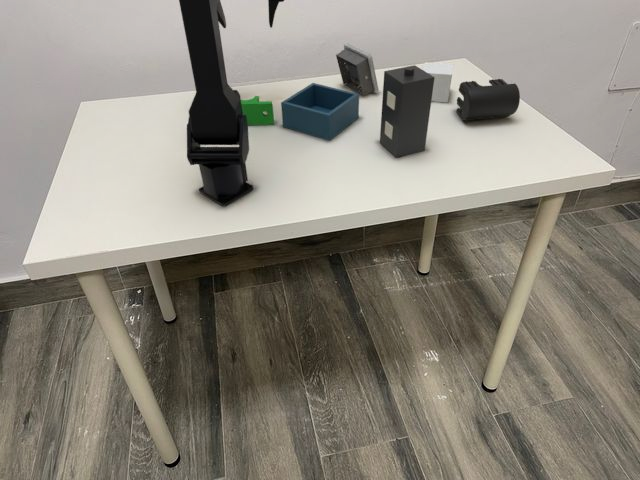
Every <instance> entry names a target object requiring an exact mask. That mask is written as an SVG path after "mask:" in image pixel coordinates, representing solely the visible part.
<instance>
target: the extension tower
mask: <svg viewBox="0 0 640 480" xmlns="http://www.w3.org/2000/svg"><path fill="white" fill-rule="evenodd" d="M434 78H435V77H433V76H432V75H430V74H428V73H427V72H425V71H423V69H422V68H420V67H418V66H417V65H416V64H415V65H409V66H404V67H403V66H402V67H399V68H393V69H388V70H384V71H383V85H382V86H383V87H382V101H381V102H382V103H381V115H380V131H379V132H380V133H379V144H380V145H382V147H384V148H385V149H386V150H387V151H388V152H389V153H390V154H391V155H392V156H394V157H395V159H397V158H400V157H404V156H408V155H412V154H415V153H419V152H423V151H425V150H426V143H427V137H428V130H429V129H428V128H429V121H430V114H431V107H432V101H431V100H432V93H433V85H434Z"/></svg>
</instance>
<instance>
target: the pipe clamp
mask: <svg viewBox="0 0 640 480" xmlns="http://www.w3.org/2000/svg"><path fill="white" fill-rule="evenodd" d="M273 104H274V103H273V101H272V100H269V101H268V100H265V101H263V100H262V101H261V100H260V96H259V95H254V96H253V97H252V98H250V99H241V105H242V111H243V114H245V115H246V117H247V123H248V126H274V125H275V115H274V114H275V113H274V107H273V106H274V105H273ZM265 113H267V114H265Z"/></svg>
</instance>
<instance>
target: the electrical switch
mask: <svg viewBox="0 0 640 480" xmlns="http://www.w3.org/2000/svg"><path fill="white" fill-rule="evenodd" d="M335 57H336V61H337V65H338V69H339V72H340V76H341V80H342V84H343V86H345V87H346V88H348V89H350V90H351V91H352V92H354V93H357V94H359V96H362V97H365V96H367V95H368V94H371V93H373V94H377V93H378V92H379V91H380V90H379V85H378V79H377V74H376V70H375V64H374V59H373V56H372V55H371V53H369V52H367V51H364V50H362V49H361V48H358V47H356V46H355V45H352V44H350V43H346V44H343V50H341V51H340V52H338V53H336V54H335Z"/></svg>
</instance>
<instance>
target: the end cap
mask: <svg viewBox="0 0 640 480" xmlns="http://www.w3.org/2000/svg"><path fill="white" fill-rule="evenodd" d="M488 83H489V84H490V85H481V84H479V83H478V82H477V81H476V80H475V81H474V80H471V81H463V82H461V83H460V84H459V87H458V92H459V94H461V95H462V97H460V96H457V99H456V105H457V106H458V107H457V108H456V111H455V112H456V114H457V115H458V117H460V119H461V120H462V121H475V120H487V119H499V118H507V117H510V116H512V115H514V114H515V113H516V112H517V111H518V109H519V107H520V106H519V105H520V101H521V95H520V94H521V93H520V89H519V87H518V85H517V84H516V83H508V82H506V81H505V80H504V79H503V78H497V79H489V80H488ZM462 98H463V99H462Z"/></svg>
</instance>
